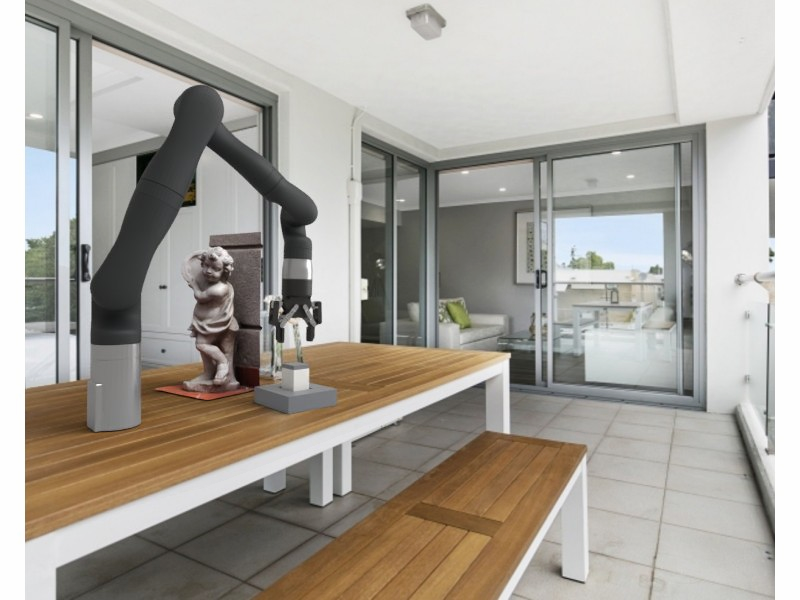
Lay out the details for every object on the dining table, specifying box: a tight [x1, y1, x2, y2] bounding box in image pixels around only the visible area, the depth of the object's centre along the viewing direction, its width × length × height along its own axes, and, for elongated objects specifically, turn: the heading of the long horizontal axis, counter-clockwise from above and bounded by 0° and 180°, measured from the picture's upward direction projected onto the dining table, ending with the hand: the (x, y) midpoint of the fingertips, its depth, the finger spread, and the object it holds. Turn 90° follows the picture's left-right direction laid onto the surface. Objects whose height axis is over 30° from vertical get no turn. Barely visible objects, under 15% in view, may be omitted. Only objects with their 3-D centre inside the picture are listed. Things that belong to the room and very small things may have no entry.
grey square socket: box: [253, 381, 338, 415], centre depth 127 cm, size 14×16×4 cm
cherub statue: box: [155, 231, 264, 401], centre depth 142 cm, size 23×19×45 cm
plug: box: [281, 361, 310, 392], centre depth 127 cm, size 4×6×9 cm
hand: (295, 342), depth 127 cm, fingers open, 8 cm apart
